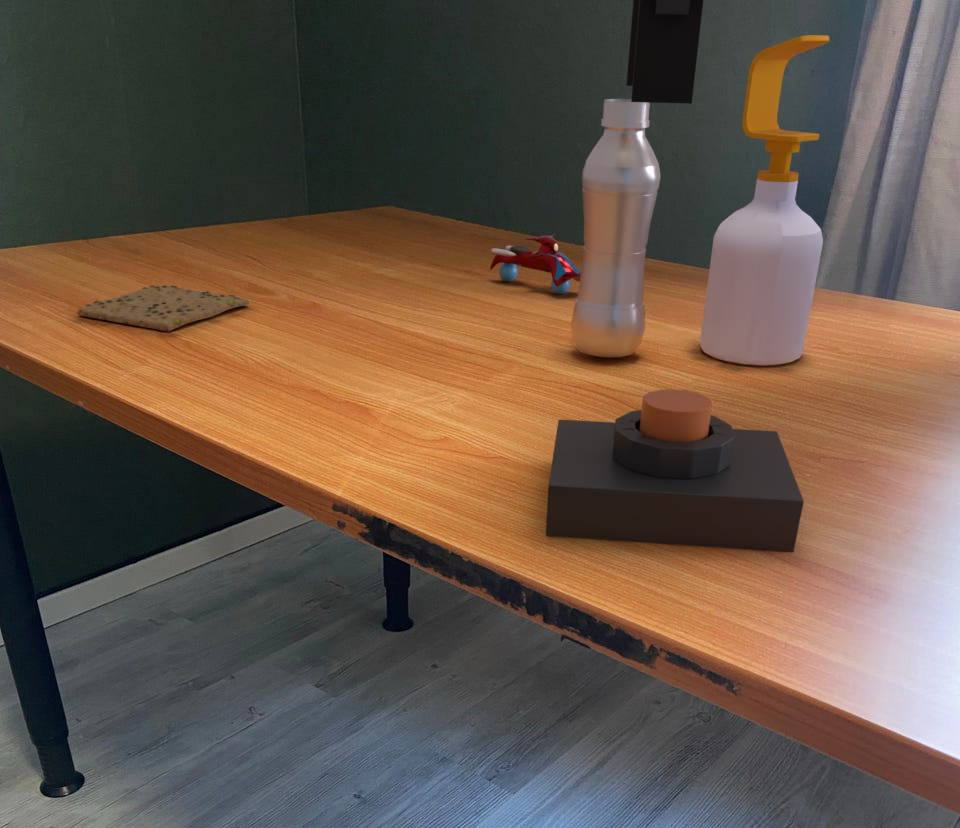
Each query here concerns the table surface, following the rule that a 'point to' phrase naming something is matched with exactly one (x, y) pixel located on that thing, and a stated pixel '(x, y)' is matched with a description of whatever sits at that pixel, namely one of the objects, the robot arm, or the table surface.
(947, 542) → the table surface
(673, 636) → the table surface
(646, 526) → the button base
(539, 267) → the hoverbike
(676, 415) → the button
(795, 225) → the soap bottle
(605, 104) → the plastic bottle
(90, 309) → the tan flat square slab
